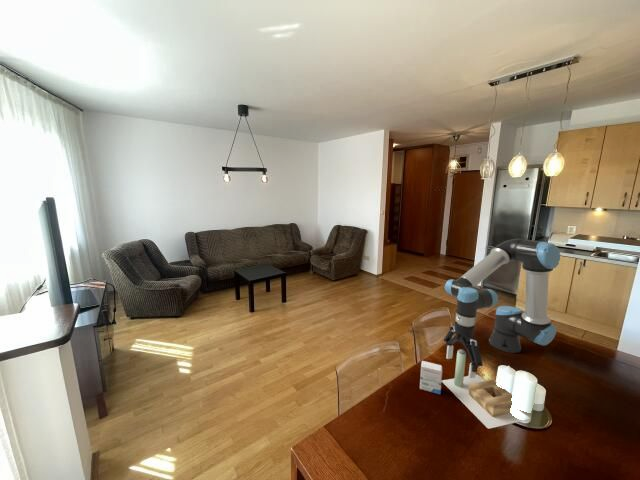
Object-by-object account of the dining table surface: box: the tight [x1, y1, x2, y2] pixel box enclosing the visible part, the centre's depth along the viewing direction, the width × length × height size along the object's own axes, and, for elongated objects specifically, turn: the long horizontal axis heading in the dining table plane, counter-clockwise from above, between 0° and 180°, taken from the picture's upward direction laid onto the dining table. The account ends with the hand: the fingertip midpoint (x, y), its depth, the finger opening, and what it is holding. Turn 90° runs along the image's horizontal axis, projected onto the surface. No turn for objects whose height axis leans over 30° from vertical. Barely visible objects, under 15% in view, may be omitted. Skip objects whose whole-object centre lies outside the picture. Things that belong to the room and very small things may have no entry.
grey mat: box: [441, 374, 523, 429], centre depth 111 cm, size 26×20×1 cm
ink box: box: [419, 360, 443, 395], centre depth 116 cm, size 9×5×12 cm, turn 65°
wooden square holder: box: [469, 379, 513, 417], centre depth 108 cm, size 12×12×5 cm
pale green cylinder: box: [454, 348, 467, 387], centre depth 117 cm, size 4×4×17 cm
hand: (459, 367), depth 117 cm, fingers open, 13 cm apart
